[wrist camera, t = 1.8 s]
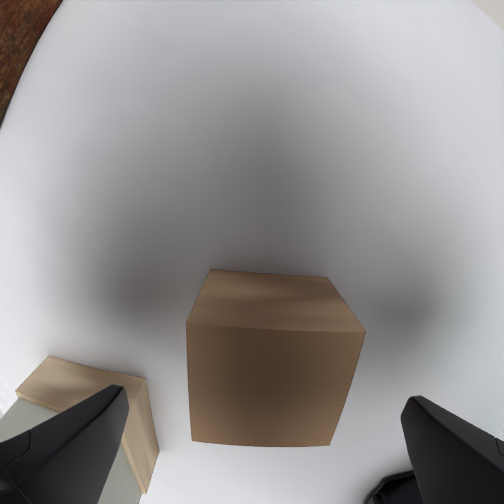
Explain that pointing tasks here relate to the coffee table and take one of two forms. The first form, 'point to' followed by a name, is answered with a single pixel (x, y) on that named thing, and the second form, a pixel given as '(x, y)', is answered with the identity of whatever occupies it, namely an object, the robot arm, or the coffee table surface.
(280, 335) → the walnut block
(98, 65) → the coffee table surface
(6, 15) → the brick
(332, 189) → the coffee table surface
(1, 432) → the tower top
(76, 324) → the coffee table surface
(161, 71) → the coffee table surface
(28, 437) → the robot arm
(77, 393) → the tower base
